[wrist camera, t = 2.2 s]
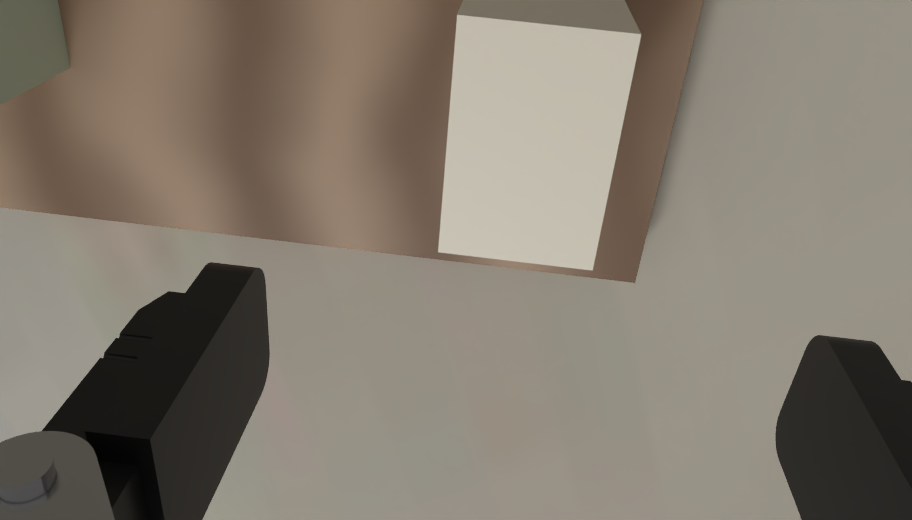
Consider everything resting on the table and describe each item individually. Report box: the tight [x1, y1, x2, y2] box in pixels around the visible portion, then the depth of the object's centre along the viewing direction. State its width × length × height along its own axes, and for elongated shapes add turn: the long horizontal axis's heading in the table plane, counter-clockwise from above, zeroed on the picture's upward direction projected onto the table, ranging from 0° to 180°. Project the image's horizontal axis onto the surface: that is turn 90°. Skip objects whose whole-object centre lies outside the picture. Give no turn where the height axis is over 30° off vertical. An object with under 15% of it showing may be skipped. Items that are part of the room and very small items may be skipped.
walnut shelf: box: [0, 0, 703, 283], centre depth 25 cm, size 28×16×4 cm, turn 85°
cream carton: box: [438, 0, 641, 271], centre depth 21 cm, size 6×4×8 cm
